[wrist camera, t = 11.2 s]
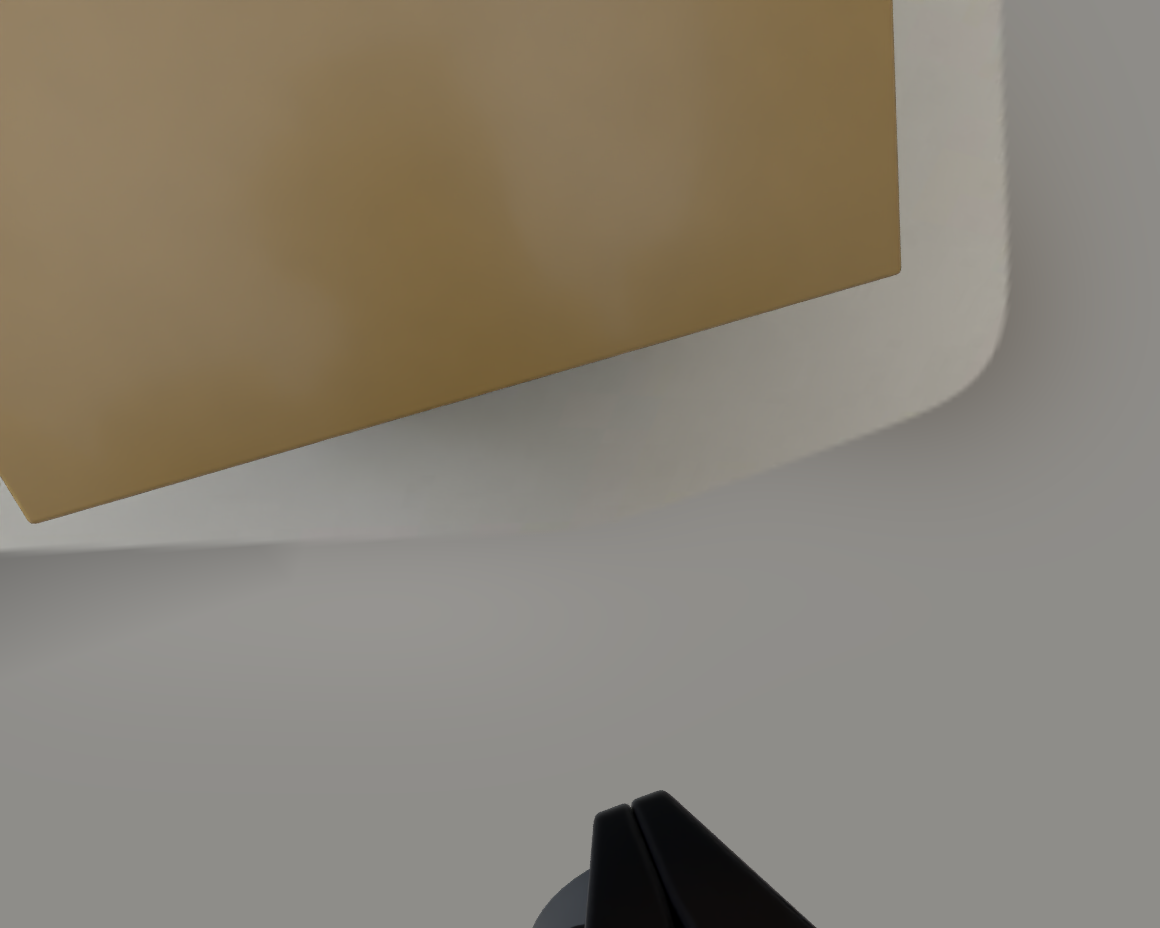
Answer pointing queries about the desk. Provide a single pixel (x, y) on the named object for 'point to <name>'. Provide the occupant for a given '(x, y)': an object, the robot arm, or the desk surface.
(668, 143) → the lid
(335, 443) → the desk surface
